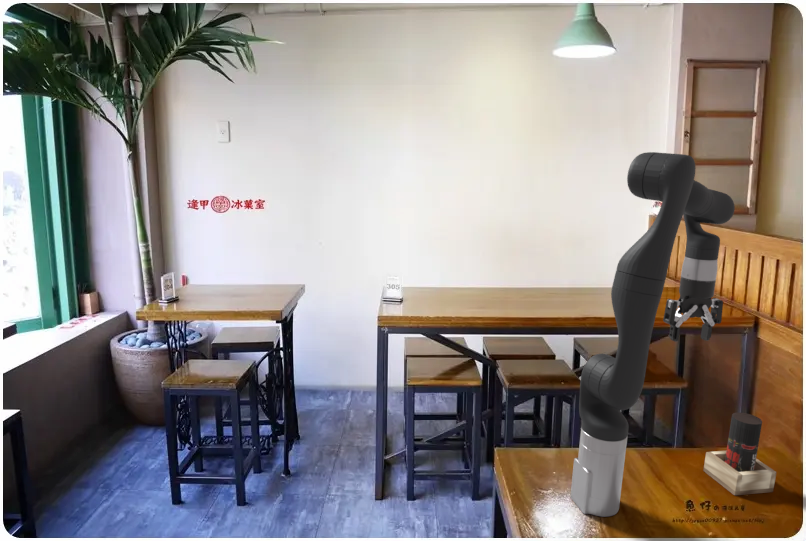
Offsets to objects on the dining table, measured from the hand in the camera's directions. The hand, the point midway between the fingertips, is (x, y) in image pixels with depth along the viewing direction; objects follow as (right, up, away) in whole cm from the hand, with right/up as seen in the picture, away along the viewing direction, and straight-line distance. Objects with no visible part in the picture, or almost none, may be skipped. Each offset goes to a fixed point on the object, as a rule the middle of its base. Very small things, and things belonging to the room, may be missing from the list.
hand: (689, 340), depth 136 cm
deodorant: (+8, -32, -7) cm, 33 cm away
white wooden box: (+8, -32, -7) cm, 34 cm away
